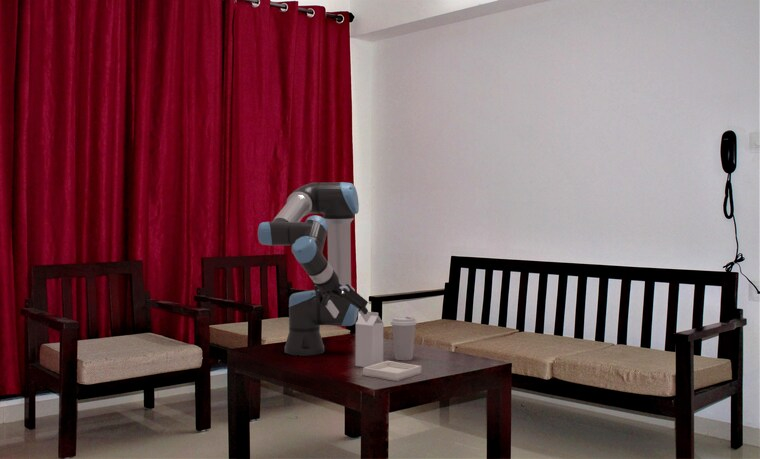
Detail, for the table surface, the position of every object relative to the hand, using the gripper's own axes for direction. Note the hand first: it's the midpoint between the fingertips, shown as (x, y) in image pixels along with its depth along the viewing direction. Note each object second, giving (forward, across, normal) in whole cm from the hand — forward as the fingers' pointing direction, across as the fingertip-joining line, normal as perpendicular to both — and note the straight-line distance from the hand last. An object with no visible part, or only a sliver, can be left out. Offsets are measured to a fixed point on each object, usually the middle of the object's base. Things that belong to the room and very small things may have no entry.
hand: (352, 316), depth 252 cm
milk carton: (+20, 0, -6) cm, 21 cm away
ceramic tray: (+16, +14, -10) cm, 23 cm away
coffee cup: (+32, +3, +6) cm, 33 cm away
